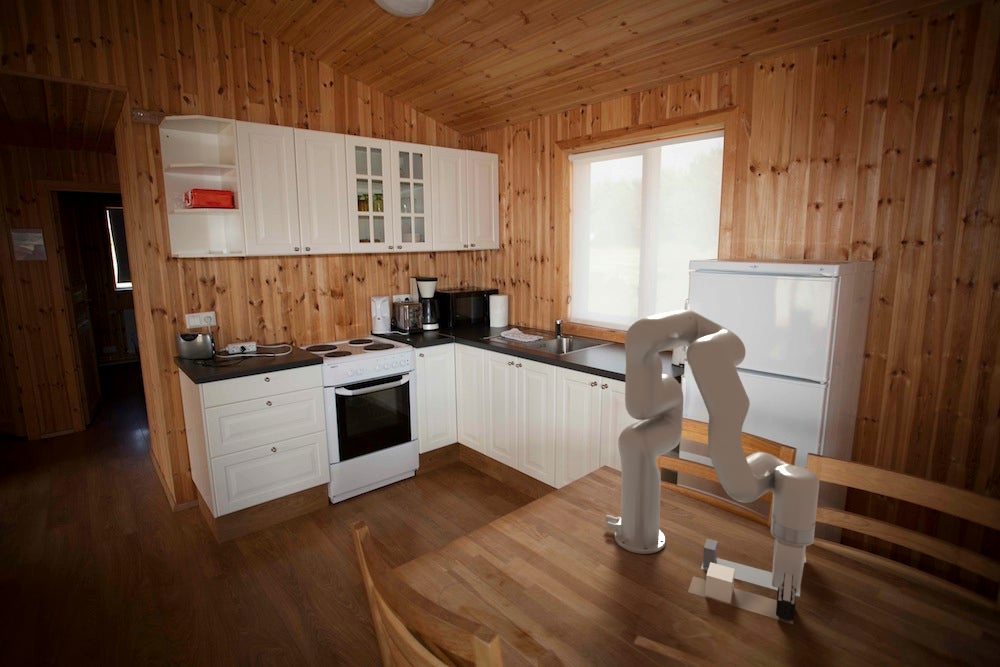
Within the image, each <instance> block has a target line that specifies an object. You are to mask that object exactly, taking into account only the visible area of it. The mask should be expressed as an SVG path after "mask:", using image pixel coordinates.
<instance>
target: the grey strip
mask: <svg viewBox="0 0 1000 667" xmlns="http://www.w3.org/2000/svg"><path fill="white" fill-rule="evenodd" d="M718 542H719V541H718V540H714V539H711V538H706V540H705V543H704V545H703V557H702V558H703V559H702V564H701V567H700V569H701V570H703V571H707V572H708V568H709V565H710V562H711V563H715V564H719V565H722V566H726V567H730V568H733V569H735V575H734V580H738V581H742V582H746V583H749V584H754V585H757V586H760V587H763V588H767V589H770V590H775V591H777V592H778V588H776V587H773V586H772V572H771V571H768V570H764V569H760V568H756V567H753V566H749V565H745V564H741V563H738V562H734V561H730V560H727V559H722V558H719V557H718ZM795 597H801V589H800V590H799V592H798V593H796V595H795Z"/></svg>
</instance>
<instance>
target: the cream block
mask: <svg viewBox="0 0 1000 667" xmlns="http://www.w3.org/2000/svg"><path fill="white" fill-rule="evenodd" d="M734 575H735V569H733V568H730V567H726V566H722V565H719V564H715V563H711V562H710V565H709V568H708V571H707V573H706V576H705V577H706V578H705V580H706V593H705V596H707V597H711V598H714V599H717V600H720V601H724V602H727V603H730V604H731V599H732V594H733V589H734V588H735V587H734V586H735V578H734Z"/></svg>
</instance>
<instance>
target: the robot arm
mask: <svg viewBox="0 0 1000 667" xmlns="http://www.w3.org/2000/svg"><path fill="white" fill-rule="evenodd" d="M684 346H685V347H687V349H686V353H685V354H686V355H685V357H686V361H687V364H688V367H689V369H690V371H691V374H692V376H693V379H694V382H695V384H696V385H697V388H698V391H699V393H700V396H701V398H702V400H703V404H704V406H705V407H706V411H707V414H708V426H707V442H708V446H707V447H708V452H709V457H710V460H711V464H712V466H713V468H714V471H715V473H716V476H717V478H718V481H719V482H720V484H721V486H722V488H723V489H724V491H725V492H726V493H727V495H728V496H729V497H730V498H732V500H733V499H734V500H735V501H737V502H740V503H745V504H747V503H752V502H754V501H756V500H758V499H760V498H761V497H763V496H764V495H765V494H767V493H772V505H771V506H772V508H771V520H770V521H771V522H770V534H771V535H772V537H773V538H775V539H774V546H773V557H772V558H773V559H772V560H773V561H772V570H771V571H772V586H773V587H776V588H778V591H777V597H776V600H777V607H776V615H777V616H778V617H782V618H785V619H788V620H792V621H793V622H794V620H795V614H796V612H795V611H796V604H797V603H796V596H795V595H796V593H798V592H799V590H800V591H801V584H802V579H803V572H804V566H805V562H804V559H805V556H806V550H807V549H806V548H807V546H811V545H812V544H813V543H814V541H815V530H816V521H817V520H816V519H817V511H818V499H819V490H820V480H819V476H818V475H817V474H816V473H815V471H814V472H813V471H812V470H811V469H809V468H806V467H803V466H799V465H793V464H791V463H788V462H786V461H784V460H783V459H780V458H778V457H777V456H775V455H773V454H771V453H768V452H763V451H757V452H754V453H751V454H750V455H748V456H746V455H745V452H744V447H743V443H742V441H743V440H742V434H743V433H742V430H743V425H744V422H745V420H746V417H747V414H748V412H749V408H750V404H751V403H750V398H749V396H748V394H747V392H746V390H745V388H744V385H743V382H742V381H741V378H740V376H739V372H738V371H737V368H736V367H737V366H739V365H740V364H741V363H742V362H743V361H744V360H745V357H746V348H745V345H744V342H743V341H742V339H741V338H740V337H739V336H738V335H737V334H735V333H734V332H732V330H730V329H728V328H726V327H724V326H723V325H720V324H718V323H717V322H715V321H713V320H712V319H709V318H707V317H705V316H703V315H702V314H700V313H697V312H695V311H693V310H689V309H678V310H672V311H668V312H662V313H657V314H652V315H650V316H649V315H648V316H646V317H643V318H640V319H639V320H637V321H635V322H634V323H632V324H631V325H630V327H629V328H628V329H627V332H626V334H625V337H624V351H625V381H624V382H625V388H624V391H625V392H624V403H625V410H626V412H627V414H628V415H629V416H630V417H631V418H633V419H635V420H638V421H636V422H634V423H631V424H630V425H628V426H627V427H625V428H624V429H623V430H622V431H621V432H620V434H619V436H618V440H617V445H618V446H617V447H618V454H619V457H620V467H621V468H620V470H621V490H620V491H621V493H620V494H621V495H620V496H621V498H620V499H621V500H620V501H621V503H620V505H621V506H620V516H618V517H615V516H613V515H611V514H606V516H605V523H606V527H607V528H611V529H615V531H614V540H615V542H616V543H617V545H618V546H620V547H621V548H622V549H623V550H626V551H629V552H632V553H634V554H639V555H640V554H641V555H642V554H643V555H645V554H646V555H648V554H655V553H657V552H660V551H661V550H662V549H663V548H664V547H665V546H666V536H665V534H664V533H663V532H662V531H661V530H660V520H661V519H660V517H661V516H660V515H661V487H662V485H661V484H662V482H661V481H662V480H661V479H662V478H661V471H660V470H659V467H658V465H657V458H659V457H661V456H663V455H664V454H666V453H669V452H670V451H672V450H674V449H676V448H677V446H678V445H679V444H680V442H681V440H682V435H683V422H684V421H683V418H684V393H683V389H682V387H681V384H680V382H679V381H678V380H677V379H676V378H675V377H674V376H672V375H669V374H667V373H663V362H662V358H661V356H660V354H659V353H660V352H664V351H670V350H672V349H678V348H680V347H684ZM782 583H783V584H782ZM792 586H793V587H792ZM782 589H783V590H784V593H782ZM791 592H792V595H791Z"/></svg>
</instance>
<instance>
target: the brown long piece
mask: <svg viewBox="0 0 1000 667" xmlns="http://www.w3.org/2000/svg"><path fill="white" fill-rule="evenodd" d="M782 584H783V583H782ZM792 587H793V586H792ZM687 593H689V594H692V595H695V596H698V597H702V598H706V599H708V600H712V601H716V602H718V603H722V604H724V605H728V606H730V607H735V608H737V609H741V610H745V611H748V612H750V613H754V614H758V615H761V616H764V617H767V618H770V619H774V620H777V621H781V622H783V623H787V624H791V625H794V620H793V621H792V620H788V619H785V618H782V617H778V616H777V615H776V607H777V599H774V598H770V597H767V596H763V595H759V594H756V593H753V592H749V591H746V590H742V589H739V588H735V587H734V589H733V594H732V599H731V604H730V603H727V602H724V601H720V600H717V599H714V598H711V597H707V596H705V593H706V578H705V579H704V578H700V577H697V576H692V579H691V581H690V584H689V588H688V591H687ZM782 593H784V590H783V589H782ZM791 595H792V592H791Z"/></svg>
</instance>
